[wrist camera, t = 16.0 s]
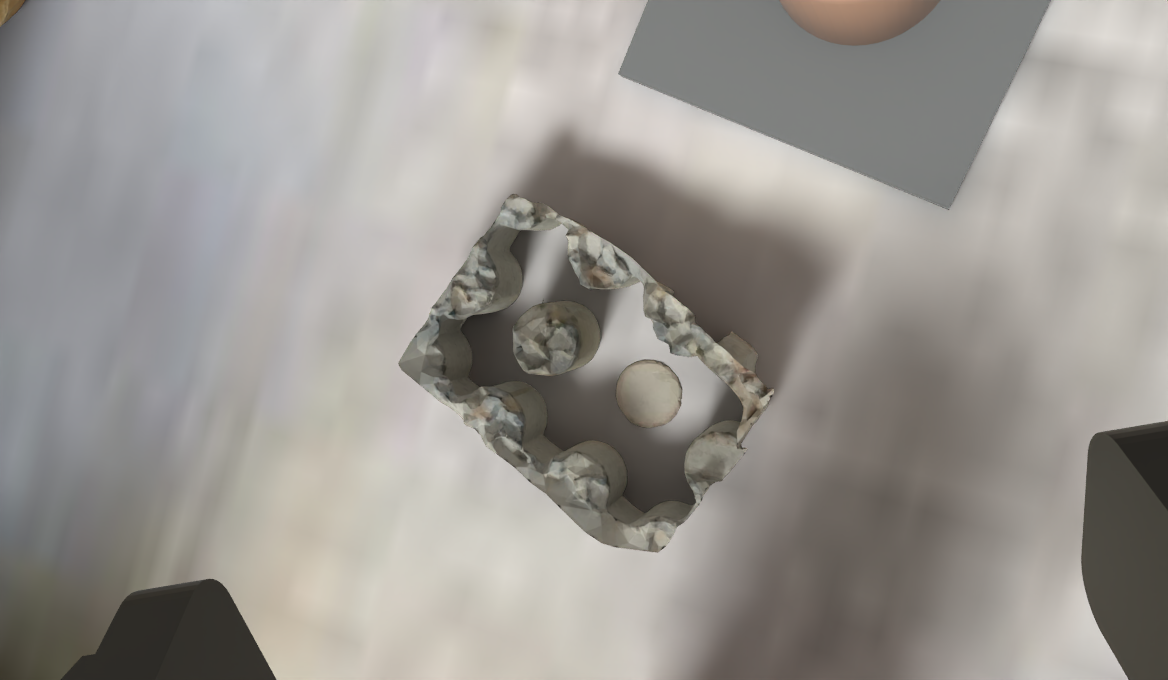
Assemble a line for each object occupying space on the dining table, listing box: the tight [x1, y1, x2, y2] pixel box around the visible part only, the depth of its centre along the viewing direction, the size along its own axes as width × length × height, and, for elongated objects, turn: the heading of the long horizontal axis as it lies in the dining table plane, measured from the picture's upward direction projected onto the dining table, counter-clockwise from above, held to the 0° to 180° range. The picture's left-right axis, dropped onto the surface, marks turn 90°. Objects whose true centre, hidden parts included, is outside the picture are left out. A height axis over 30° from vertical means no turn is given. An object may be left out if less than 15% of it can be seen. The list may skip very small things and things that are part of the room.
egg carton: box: [398, 194, 774, 553], centre depth 32 cm, size 11×8×4 cm
